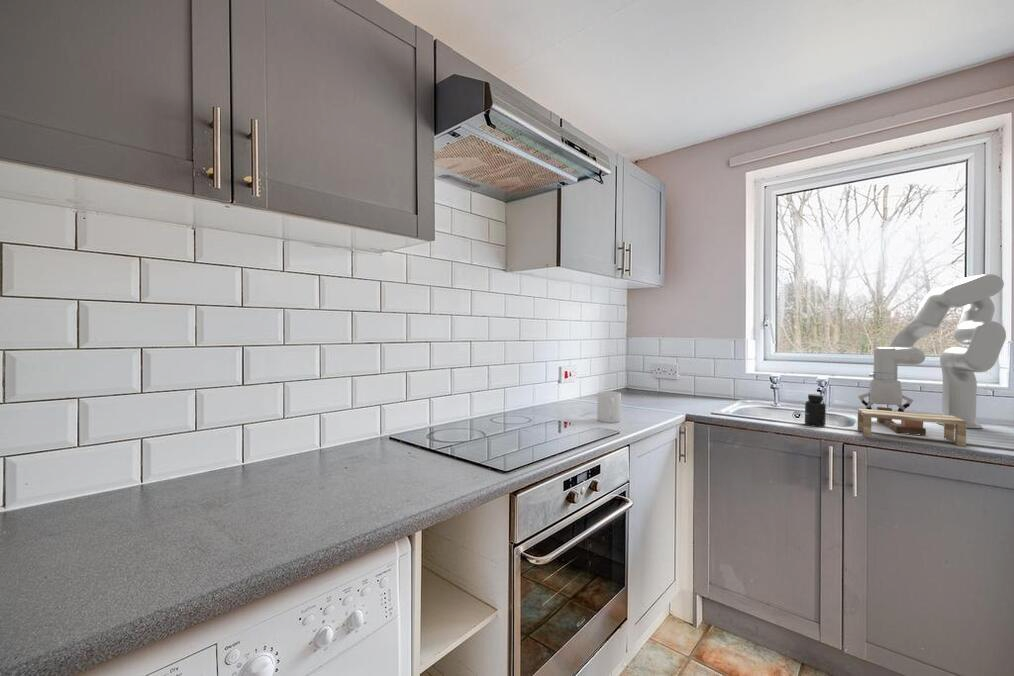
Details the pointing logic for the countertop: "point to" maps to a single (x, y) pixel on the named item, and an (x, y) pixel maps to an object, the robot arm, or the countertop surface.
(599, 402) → the mug
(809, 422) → the supplement bottle
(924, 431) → the crook
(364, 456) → the countertop surface
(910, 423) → the cube
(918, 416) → the low bench
